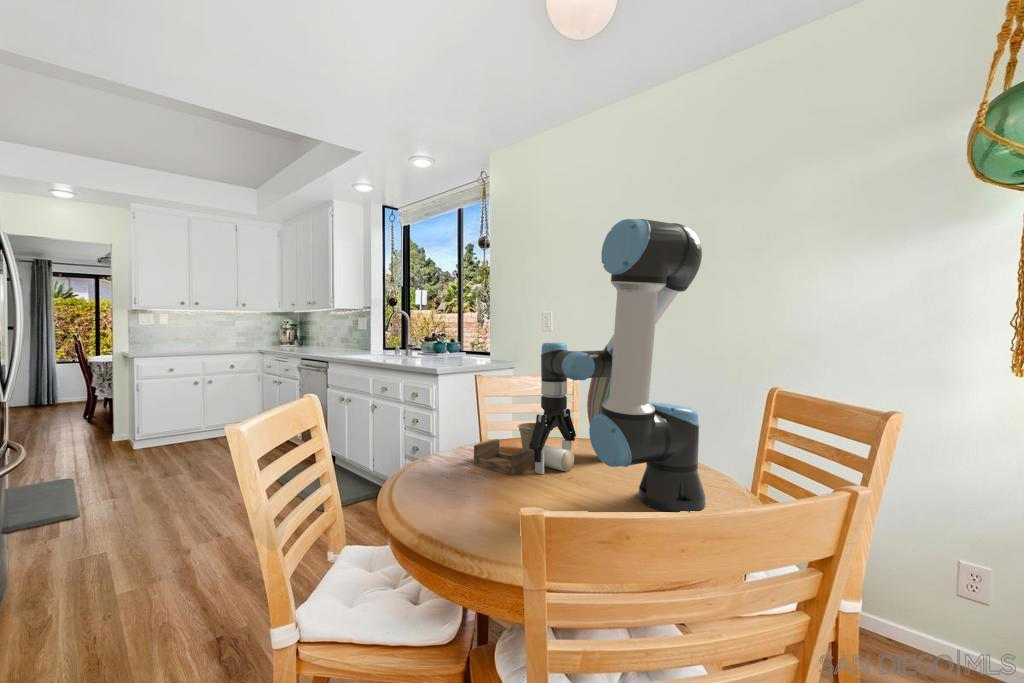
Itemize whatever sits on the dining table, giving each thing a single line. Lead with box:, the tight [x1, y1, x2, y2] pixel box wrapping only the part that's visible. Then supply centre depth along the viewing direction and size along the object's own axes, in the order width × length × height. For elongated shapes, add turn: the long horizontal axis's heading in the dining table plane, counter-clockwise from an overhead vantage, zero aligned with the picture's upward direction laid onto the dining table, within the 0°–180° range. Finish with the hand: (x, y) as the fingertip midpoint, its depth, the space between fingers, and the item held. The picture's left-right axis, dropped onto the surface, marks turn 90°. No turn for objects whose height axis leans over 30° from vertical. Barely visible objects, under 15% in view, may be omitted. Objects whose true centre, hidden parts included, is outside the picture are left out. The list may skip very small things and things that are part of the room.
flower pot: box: [517, 422, 540, 451], centre depth 154 cm, size 9×9×9 cm
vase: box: [586, 377, 611, 463], centre depth 144 cm, size 14×14×30 cm
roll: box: [542, 445, 575, 473], centre depth 136 cm, size 10×6×6 cm, turn 49°
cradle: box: [473, 438, 535, 477], centre depth 138 cm, size 16×10×6 cm, turn 49°
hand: (553, 467), depth 136 cm, fingers open, 13 cm apart
